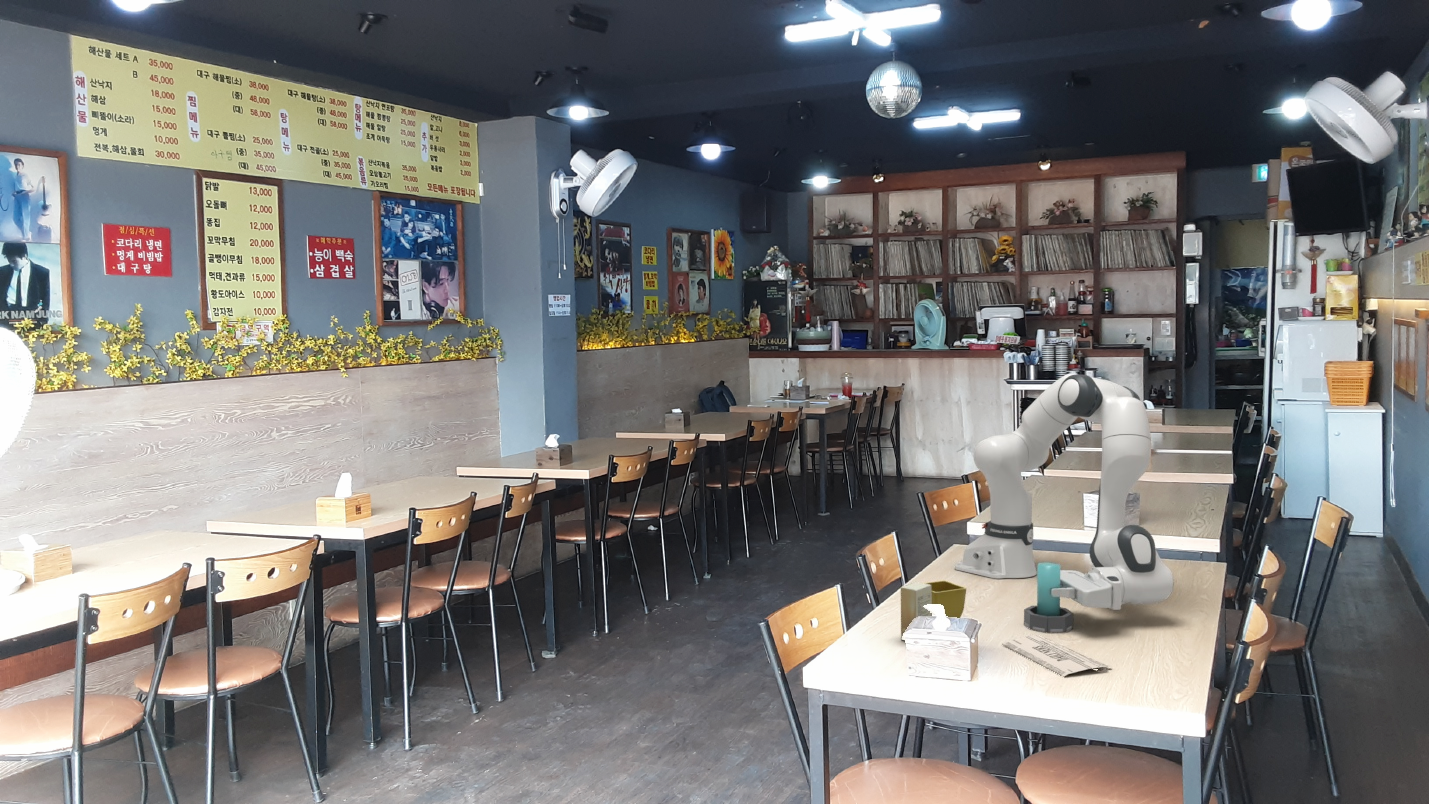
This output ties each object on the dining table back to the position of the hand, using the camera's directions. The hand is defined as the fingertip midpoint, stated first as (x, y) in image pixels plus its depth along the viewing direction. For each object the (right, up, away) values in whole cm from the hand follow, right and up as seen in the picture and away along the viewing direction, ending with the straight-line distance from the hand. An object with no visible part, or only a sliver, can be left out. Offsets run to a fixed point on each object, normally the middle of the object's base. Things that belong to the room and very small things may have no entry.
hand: (1044, 588), depth 239 cm
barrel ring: (+1, -9, +1) cm, 9 cm away
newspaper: (-5, -11, -21) cm, 24 cm away
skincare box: (-31, -10, -8) cm, 34 cm away
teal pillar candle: (+1, -6, +1) cm, 7 cm away
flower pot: (-23, -9, +4) cm, 25 cm away
